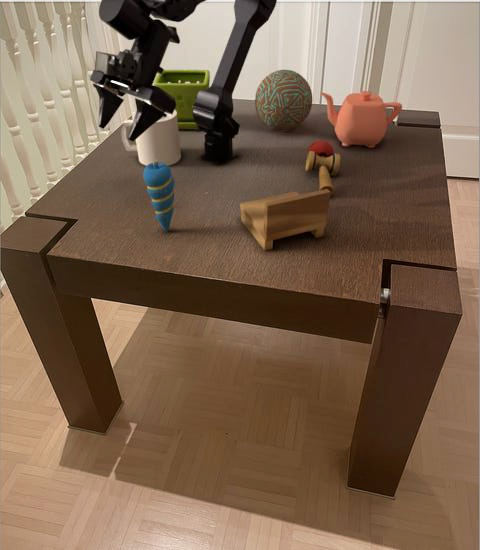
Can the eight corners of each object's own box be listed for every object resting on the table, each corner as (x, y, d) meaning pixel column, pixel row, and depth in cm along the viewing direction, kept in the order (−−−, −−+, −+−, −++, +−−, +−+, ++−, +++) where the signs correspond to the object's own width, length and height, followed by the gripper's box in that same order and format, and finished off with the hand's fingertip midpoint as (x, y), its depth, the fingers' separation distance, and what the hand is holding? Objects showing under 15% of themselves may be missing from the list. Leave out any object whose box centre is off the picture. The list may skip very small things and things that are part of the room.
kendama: (347, 202, 96) (337, 155, 109) (346, 178, 92) (336, 131, 104) (310, 207, 98) (304, 159, 110) (307, 183, 93) (302, 136, 105)
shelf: (240, 218, 90) (239, 174, 83) (294, 206, 93) (297, 163, 87) (265, 252, 81) (267, 206, 75) (324, 237, 84) (330, 191, 78)
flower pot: (209, 133, 122) (207, 84, 114) (157, 133, 123) (151, 84, 115) (212, 114, 133) (210, 68, 125) (165, 114, 133) (160, 68, 125)
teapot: (316, 128, 124) (321, 81, 117) (392, 132, 122) (401, 85, 114) (315, 148, 114) (320, 99, 107) (397, 153, 112) (408, 103, 104)
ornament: (174, 240, 84) (165, 165, 75) (148, 237, 85) (135, 162, 75) (182, 225, 88) (175, 151, 78) (157, 222, 89) (146, 149, 79)
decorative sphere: (273, 114, 132) (275, 59, 123) (319, 126, 126) (325, 68, 116) (243, 131, 123) (243, 73, 114) (291, 144, 116) (295, 83, 107)
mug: (121, 167, 107) (112, 122, 100) (129, 148, 115) (122, 106, 108) (178, 166, 107) (174, 122, 100) (183, 148, 115) (179, 106, 108)
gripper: (82, 21, 82) (51, 104, 84) (149, 37, 72) (112, 130, 74) (127, 54, 91) (99, 127, 93) (192, 71, 82) (158, 153, 84)
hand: (115, 134), depth 86 cm, fingers open, 9 cm apart
